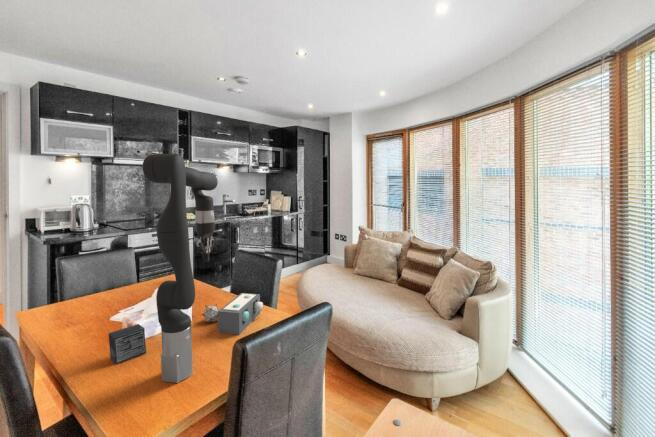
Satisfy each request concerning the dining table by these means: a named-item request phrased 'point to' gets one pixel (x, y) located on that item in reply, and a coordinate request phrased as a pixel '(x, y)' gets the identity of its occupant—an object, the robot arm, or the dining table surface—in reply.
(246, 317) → the teal button
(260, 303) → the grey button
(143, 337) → the small box
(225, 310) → the console
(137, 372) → the dining table surface
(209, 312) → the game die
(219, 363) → the dining table surface
